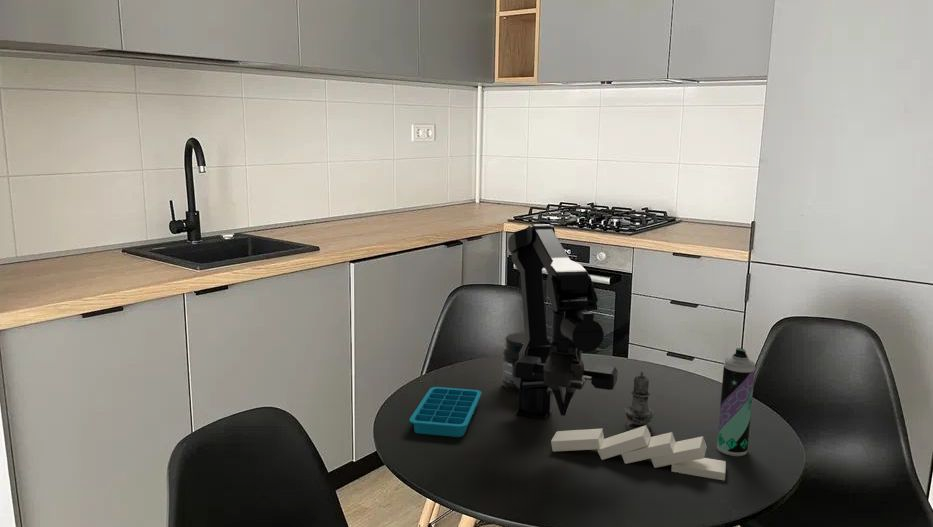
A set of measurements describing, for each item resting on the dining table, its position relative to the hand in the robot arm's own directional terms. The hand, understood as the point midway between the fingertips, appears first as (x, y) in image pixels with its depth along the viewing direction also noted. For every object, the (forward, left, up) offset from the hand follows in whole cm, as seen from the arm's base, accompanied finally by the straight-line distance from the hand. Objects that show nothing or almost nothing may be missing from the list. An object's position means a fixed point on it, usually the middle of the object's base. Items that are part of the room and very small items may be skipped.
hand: (563, 415), depth 136 cm
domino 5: (+20, 0, -6) cm, 21 cm away
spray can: (+31, +11, -7) cm, 33 cm away
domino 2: (+8, 0, -6) cm, 9 cm away
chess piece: (+13, +15, -7) cm, 21 cm away
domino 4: (+17, 0, -6) cm, 18 cm away
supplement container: (-15, +29, -7) cm, 34 cm away
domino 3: (+12, 0, -6) cm, 13 cm away
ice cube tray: (-26, +5, -7) cm, 27 cm away
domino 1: (-1, 0, -6) cm, 6 cm away
